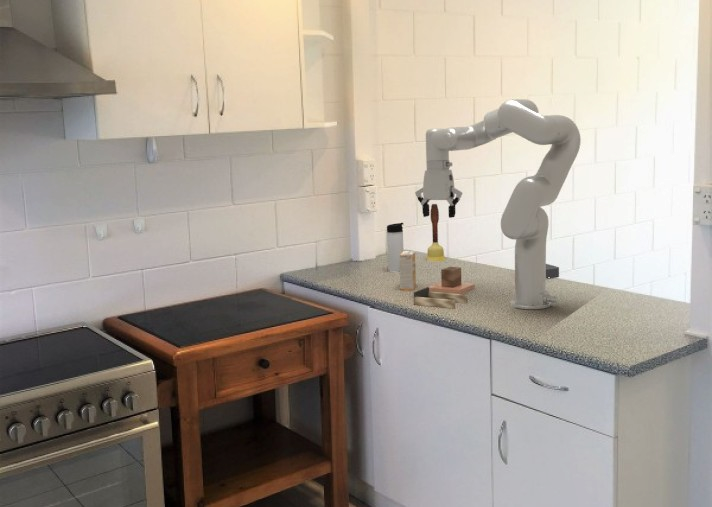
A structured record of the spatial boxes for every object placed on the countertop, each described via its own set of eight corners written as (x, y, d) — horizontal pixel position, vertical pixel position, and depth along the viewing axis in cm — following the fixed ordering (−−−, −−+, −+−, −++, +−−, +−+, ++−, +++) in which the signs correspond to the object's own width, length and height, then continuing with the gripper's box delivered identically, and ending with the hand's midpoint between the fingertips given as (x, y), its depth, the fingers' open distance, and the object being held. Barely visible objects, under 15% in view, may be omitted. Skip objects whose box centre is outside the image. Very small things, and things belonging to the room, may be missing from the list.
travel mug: (405, 275, 310) (403, 223, 307) (388, 275, 310) (386, 224, 307) (404, 272, 316) (403, 221, 313) (388, 272, 317) (386, 222, 314)
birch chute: (467, 302, 258) (467, 290, 258) (454, 308, 251) (454, 296, 250) (427, 298, 266) (427, 287, 266) (413, 304, 259) (413, 292, 258)
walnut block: (461, 284, 278) (461, 267, 277) (453, 287, 273) (452, 270, 272) (450, 283, 280) (449, 266, 279) (441, 286, 275) (441, 269, 274)
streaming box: (561, 280, 289) (561, 267, 289) (530, 283, 285) (530, 271, 285) (542, 274, 301) (542, 262, 300) (512, 278, 297) (512, 266, 297)
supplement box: (413, 291, 280) (412, 254, 278) (400, 291, 281) (398, 254, 279) (416, 286, 288) (415, 250, 286) (403, 286, 289) (402, 250, 287)
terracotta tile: (474, 289, 278) (474, 283, 278) (459, 296, 269) (459, 290, 268) (444, 286, 285) (444, 281, 285) (427, 293, 275) (427, 287, 275)
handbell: (438, 260, 340) (436, 201, 336) (457, 264, 330) (455, 203, 326) (415, 264, 334) (413, 204, 330) (433, 268, 323) (431, 206, 319)
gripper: (466, 165, 266) (467, 216, 269) (420, 165, 276) (422, 214, 278) (455, 166, 260) (456, 218, 263) (409, 166, 270) (411, 217, 272)
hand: (438, 216), depth 271 cm, fingers open, 9 cm apart
